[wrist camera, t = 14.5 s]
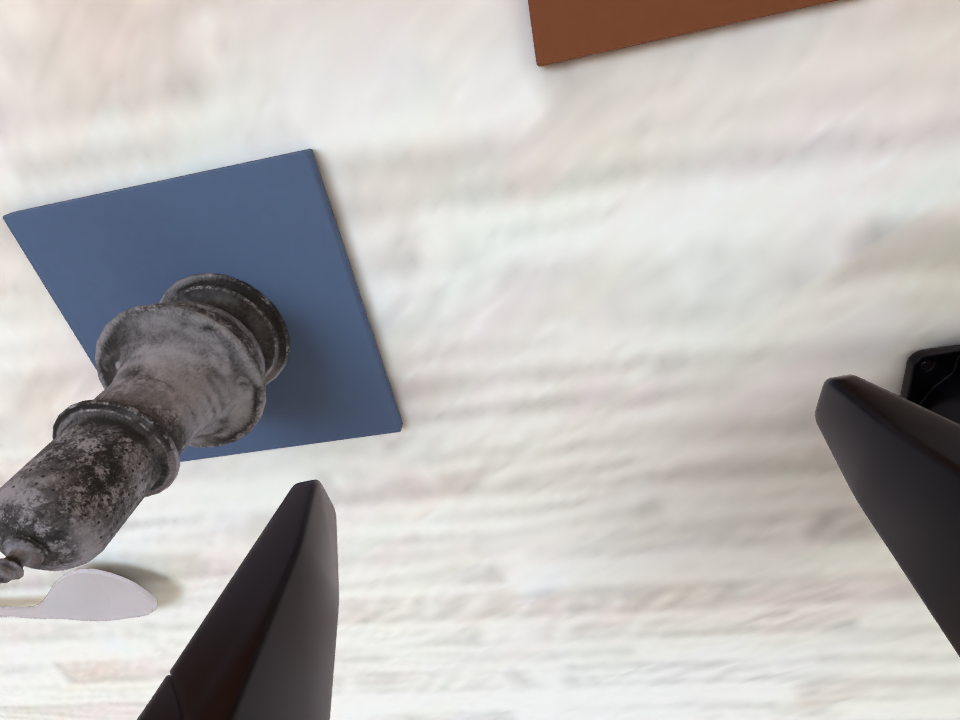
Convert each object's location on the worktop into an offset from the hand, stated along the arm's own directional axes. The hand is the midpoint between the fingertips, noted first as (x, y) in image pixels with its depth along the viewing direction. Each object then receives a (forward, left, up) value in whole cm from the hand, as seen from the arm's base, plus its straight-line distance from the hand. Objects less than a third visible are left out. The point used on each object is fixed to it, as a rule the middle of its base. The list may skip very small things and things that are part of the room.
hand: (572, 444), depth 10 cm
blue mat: (-2, +13, -13) cm, 18 cm away
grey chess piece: (-2, +13, -12) cm, 18 cm away
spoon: (-16, +33, -13) cm, 39 cm away
